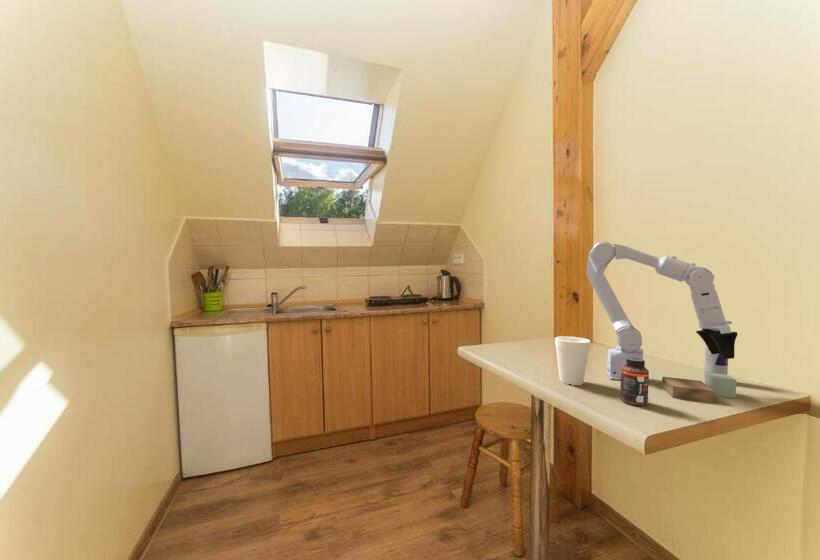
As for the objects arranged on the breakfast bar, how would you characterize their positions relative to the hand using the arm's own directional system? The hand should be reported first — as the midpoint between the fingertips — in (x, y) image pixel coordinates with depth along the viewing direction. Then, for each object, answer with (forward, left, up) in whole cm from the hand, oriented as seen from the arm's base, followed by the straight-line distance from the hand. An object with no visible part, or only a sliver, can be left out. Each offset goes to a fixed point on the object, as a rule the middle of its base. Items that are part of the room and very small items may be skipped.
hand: (722, 356), depth 96 cm
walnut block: (-10, -6, -11) cm, 15 cm away
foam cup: (-39, -8, -11) cm, 41 cm away
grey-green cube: (-1, -1, -11) cm, 11 cm away
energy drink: (+3, +13, -11) cm, 17 cm away
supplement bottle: (-25, -19, -11) cm, 33 cm away
